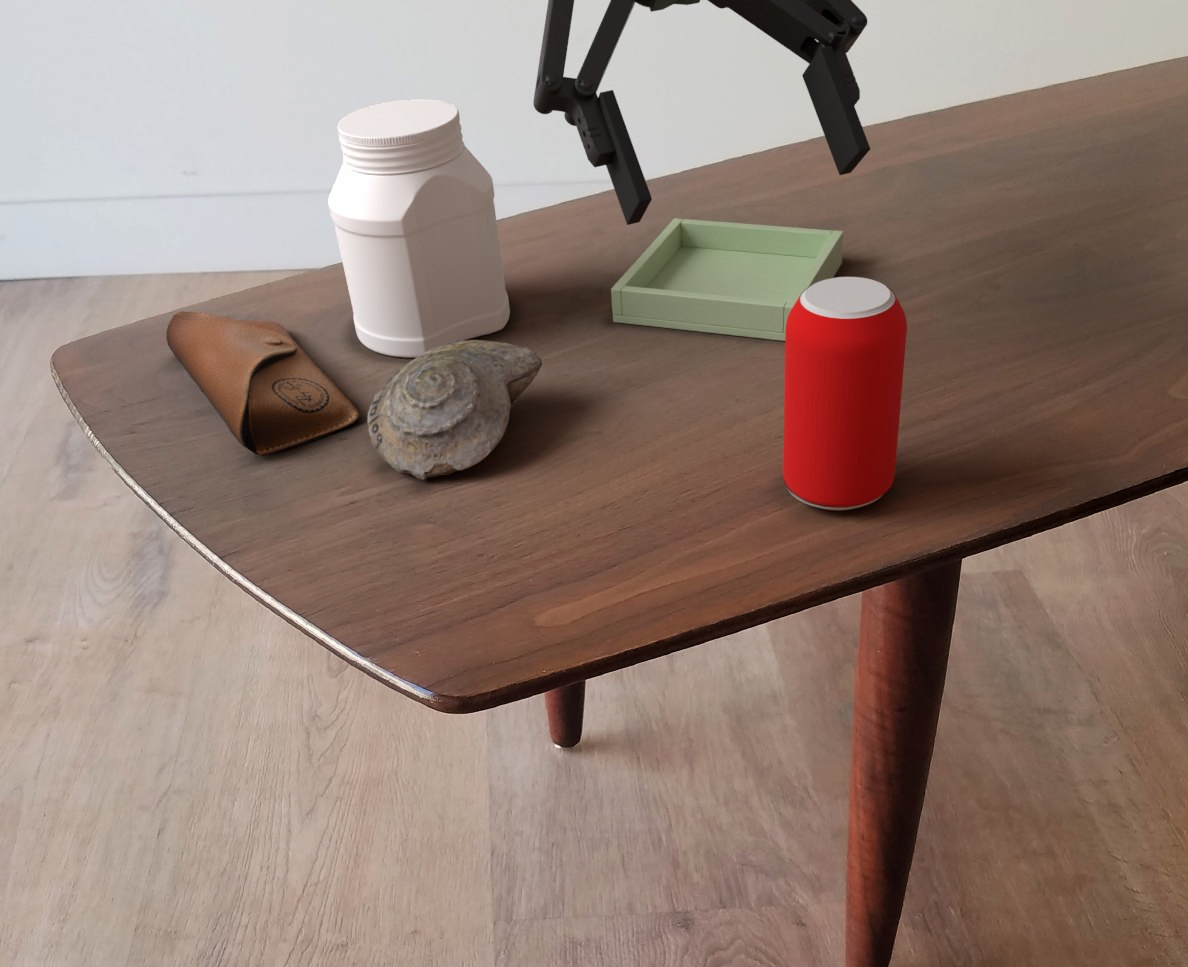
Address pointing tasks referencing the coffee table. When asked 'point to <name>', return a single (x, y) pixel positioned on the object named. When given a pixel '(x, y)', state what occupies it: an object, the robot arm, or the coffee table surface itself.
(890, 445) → the beverage can
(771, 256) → the drinks tray
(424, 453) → the fossilized seashell
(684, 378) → the coffee table surface
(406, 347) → the jar
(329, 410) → the sunglasses case
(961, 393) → the coffee table surface
